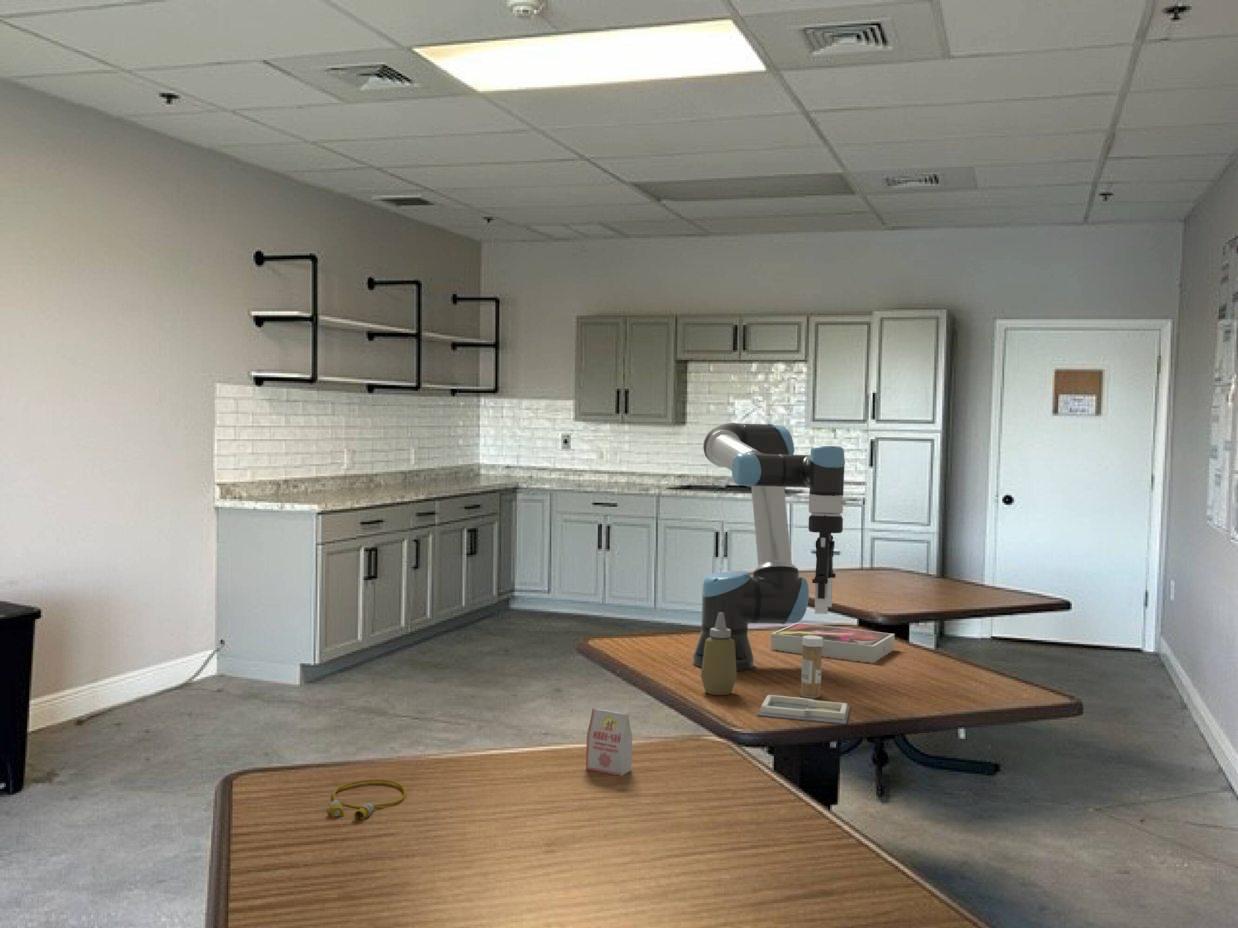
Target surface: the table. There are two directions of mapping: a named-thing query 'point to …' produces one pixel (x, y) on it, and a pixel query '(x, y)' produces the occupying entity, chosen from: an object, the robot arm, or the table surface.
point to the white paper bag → (609, 743)
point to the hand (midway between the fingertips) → (823, 610)
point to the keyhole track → (804, 709)
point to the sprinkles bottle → (811, 666)
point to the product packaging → (835, 642)
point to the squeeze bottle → (719, 660)
